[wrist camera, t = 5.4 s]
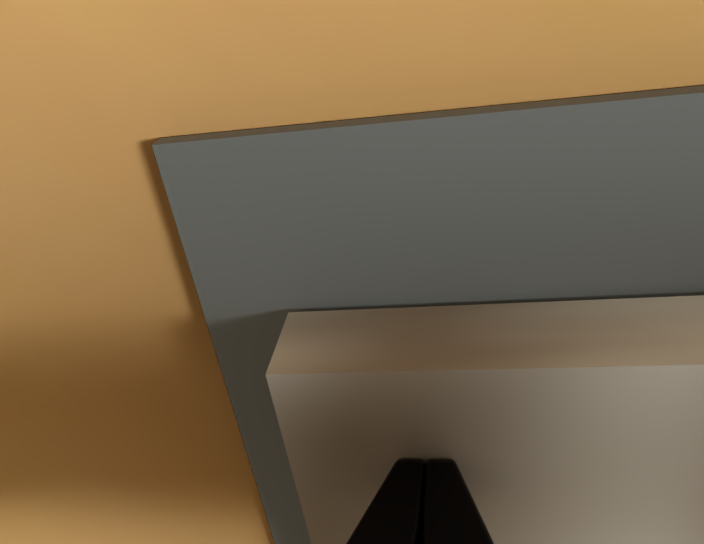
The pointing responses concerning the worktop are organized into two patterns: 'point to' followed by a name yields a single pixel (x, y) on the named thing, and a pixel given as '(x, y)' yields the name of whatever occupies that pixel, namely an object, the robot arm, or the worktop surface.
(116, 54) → the worktop surface
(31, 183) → the worktop surface
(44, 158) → the worktop surface
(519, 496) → the loose plank
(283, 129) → the underlay mat
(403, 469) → the robot arm
